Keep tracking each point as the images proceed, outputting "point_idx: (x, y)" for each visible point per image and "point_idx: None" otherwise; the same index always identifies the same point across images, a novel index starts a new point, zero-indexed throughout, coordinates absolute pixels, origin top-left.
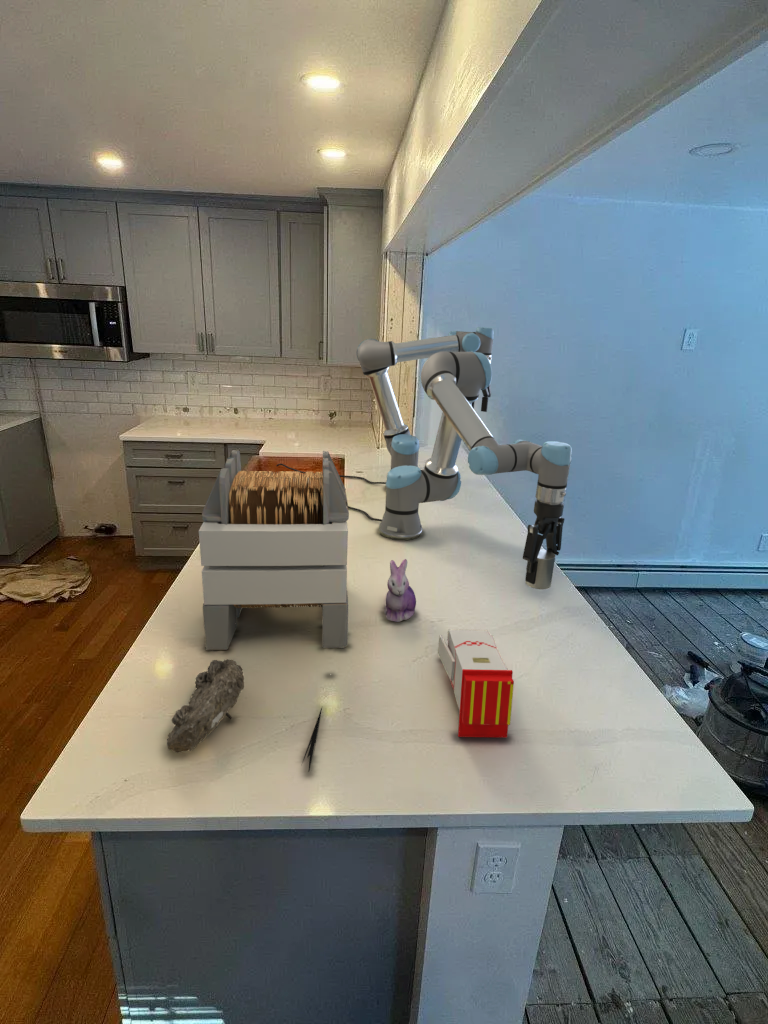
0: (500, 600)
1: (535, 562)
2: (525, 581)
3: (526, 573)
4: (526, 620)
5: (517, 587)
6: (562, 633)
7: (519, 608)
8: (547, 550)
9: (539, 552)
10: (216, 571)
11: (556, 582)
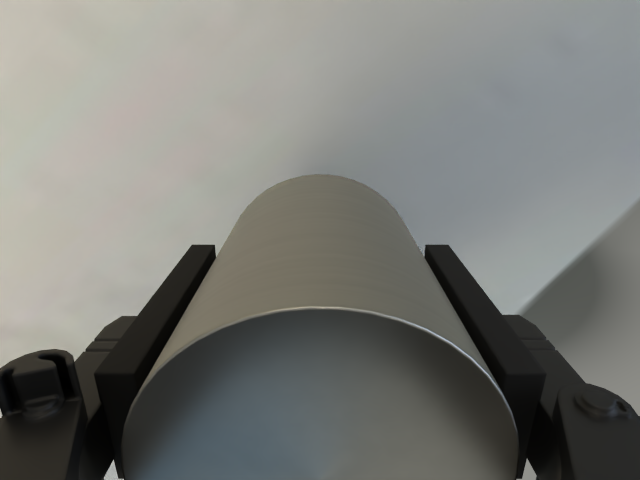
0: (81, 132)
1: (118, 466)
2: (252, 203)
3: (169, 279)
4: (68, 346)
5: (322, 78)
6: None
7: (121, 258)
8: (513, 452)
9: (331, 432)
10: None
11: (597, 193)
